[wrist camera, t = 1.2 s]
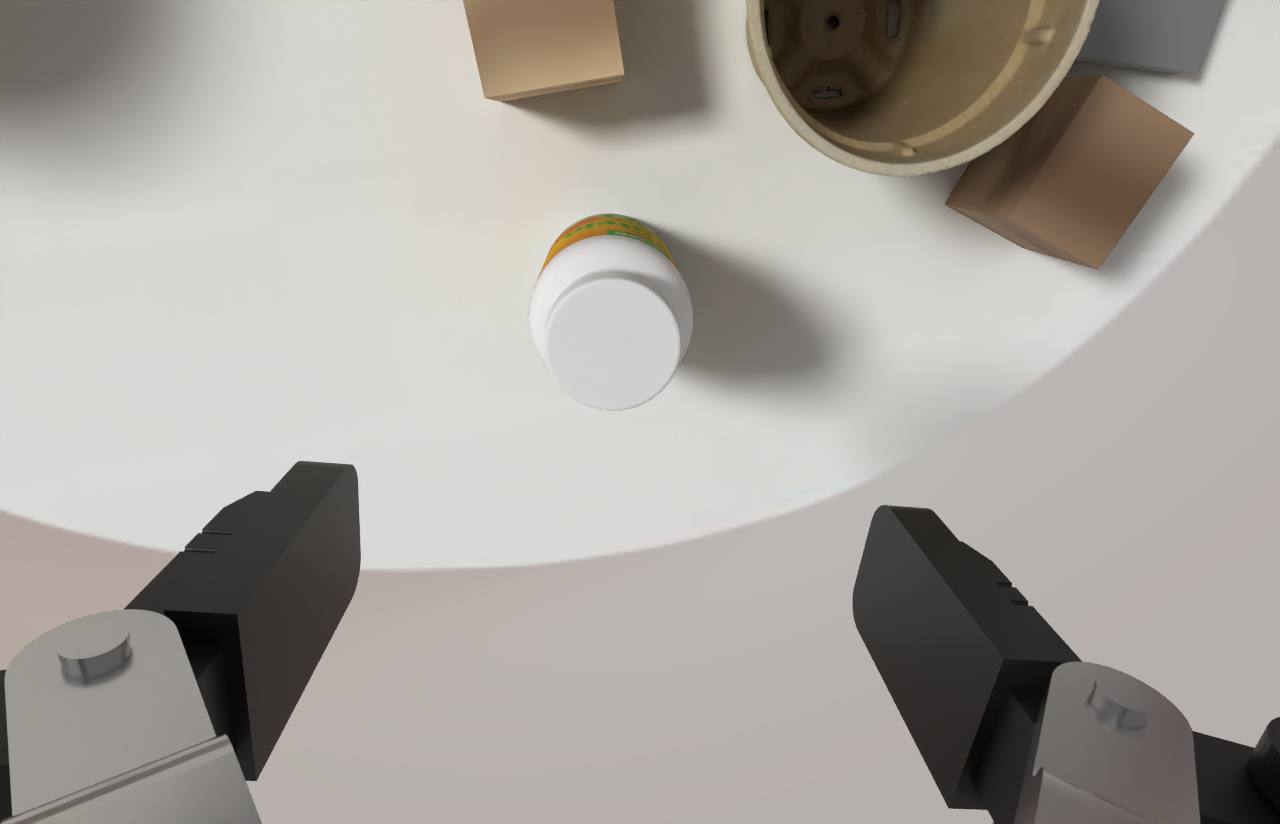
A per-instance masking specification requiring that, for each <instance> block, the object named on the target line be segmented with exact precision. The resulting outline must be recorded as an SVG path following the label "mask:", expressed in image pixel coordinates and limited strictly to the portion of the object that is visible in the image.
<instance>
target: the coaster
mask: <svg viewBox="0 0 1280 824" xmlns="http://www.w3.org/2000/svg"><path fill="white" fill-rule="evenodd" d="M1223 3H1224V0H1100V1H1099V5H1098V7H1097V10H1096V12H1095V17H1094V20H1093V22H1092V24H1091V26H1090V31H1089V33H1088V35H1087V38H1086V40H1085V42H1084V44H1083V46H1082V48H1081V50H1080V52H1079V54H1078V56H1077V57H1076V59H1075V61H1078V62H1085V63H1093V64H1101V65H1109V66H1116V67H1124V68H1132V69H1139V70H1147V71H1155V72H1163V73H1170V74H1182V73H1193V72H1199V71H1200V68H1201V65H1202V62H1203V59H1204V57H1205V54H1206V51H1207V48H1208V45H1209V42H1210V40H1211V37H1212V34H1213V31H1214V28H1215V26H1216V23H1217V20H1218V17H1219V14H1220V11H1221V9H1222V6H1223Z"/></svg>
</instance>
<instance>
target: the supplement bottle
mask: <svg viewBox="0 0 1280 824" xmlns="http://www.w3.org/2000/svg"><path fill="white" fill-rule="evenodd" d="M529 330H530V335H531V339H532V342H533V345H534V348H535V350H536V352H537V354H538V356H539V358H540V360H541V361H542V363H543V364H544V366H545V367H546V368H547V370H548V371H549V372H550V373H551V374H552V376H553V378H554V379H555V381H556V382H557V383H558V385H559V386H560V387H561V388H562V389H563V390H564V391H565V392H566V393H567V394H568V395H569V396H571V397H572V398H573V399H575V400H576V401H578V402H580V403H582V404H584V405H587V406H589V407H592V408H597V409H601V410H610V411H611V410H625V409H630V408H634V407H637V406H639V405H641V404H643V403H645V402H647V401H649V400H651V399H652V398H654V397H655V396H656V395H658V394H659V393H660V392H661V391H662V390H663V389H664V388H665V387H666V385H667V384H668V383H669V382H670V380H671V378H672V377H673V375H674V373H675V371H676V369H677V366H678V365H679V364H680V362H681V360H682V359H683V357H684V355H685V353H686V351H687V348H688V346H689V343H690V339H691V336H692V330H693V308H692V302H691V298H690V294H689V291H688V288H687V286H686V283H685V281H684V279H683V277H682V275H681V273H680V271H679V270H678V268H677V266H676V264H675V262H674V260H673V258H672V256H671V254H670V252H669V250H668V249H667V247H666V245H665V244H664V242H663V241H662V240H661V239H660V237H659V236H658V235H657V234H656V233H655V232H654V231H653V230H652V229H651V228H649V227H648V226H646V225H645V224H643V223H642V222H640V221H638V220H636V219H633V218H631V217H628V216H624V215H619V214H598V215H593V216H589V217H586V218H584V219H581V220H579V221H577V222H576V223H574V224H572V225H571V226H570V227H568V228H567V229H566V230H565V231H564V232H563V233H562V234H561V235H560V236H559V237H558V238H557V240H556V241H555V242H554V244H553V245H552V247H551V249H550V251H549V253H548V255H547V258H546V260H545V263H544V265H543V268H542V270H541V272H540V274H539V277H538V279H537V281H536V284H535V286H534V289H533V293H532V296H531V300H530V306H529Z"/></svg>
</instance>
